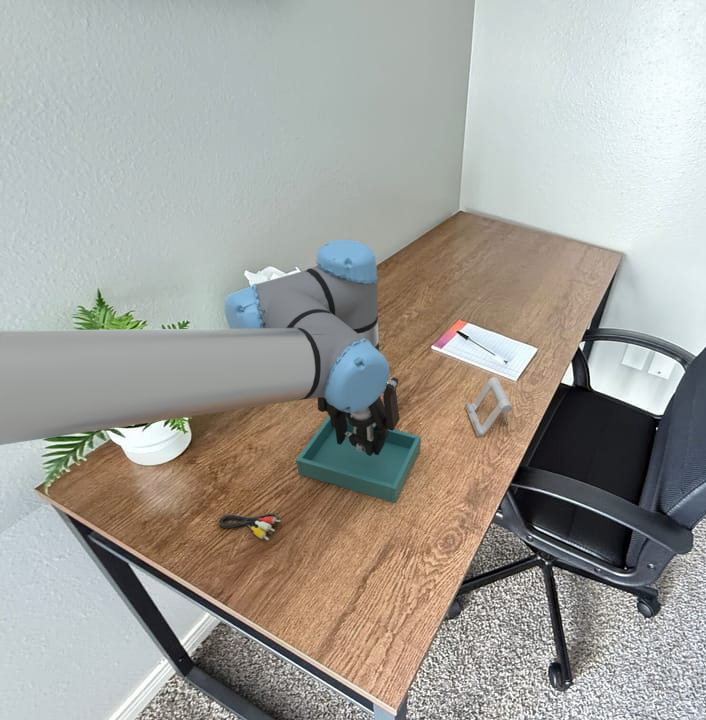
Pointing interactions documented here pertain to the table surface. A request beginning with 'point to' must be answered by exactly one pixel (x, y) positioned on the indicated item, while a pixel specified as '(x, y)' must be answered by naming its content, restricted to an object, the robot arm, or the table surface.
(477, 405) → the tablet stand
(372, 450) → the push button
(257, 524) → the composite cable
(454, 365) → the table surface
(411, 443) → the tray
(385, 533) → the table surface
